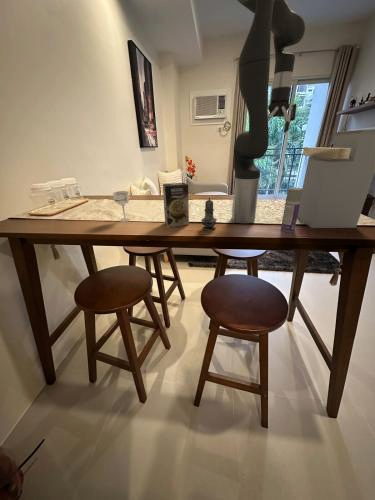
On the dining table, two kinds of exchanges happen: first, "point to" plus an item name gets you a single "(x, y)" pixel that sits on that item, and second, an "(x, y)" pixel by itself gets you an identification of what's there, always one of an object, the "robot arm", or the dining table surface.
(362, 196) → the stepped stand
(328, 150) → the wooden bar
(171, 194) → the coffee box
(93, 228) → the dining table surface
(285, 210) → the container
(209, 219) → the grey tall carved piece
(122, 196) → the wineglass
